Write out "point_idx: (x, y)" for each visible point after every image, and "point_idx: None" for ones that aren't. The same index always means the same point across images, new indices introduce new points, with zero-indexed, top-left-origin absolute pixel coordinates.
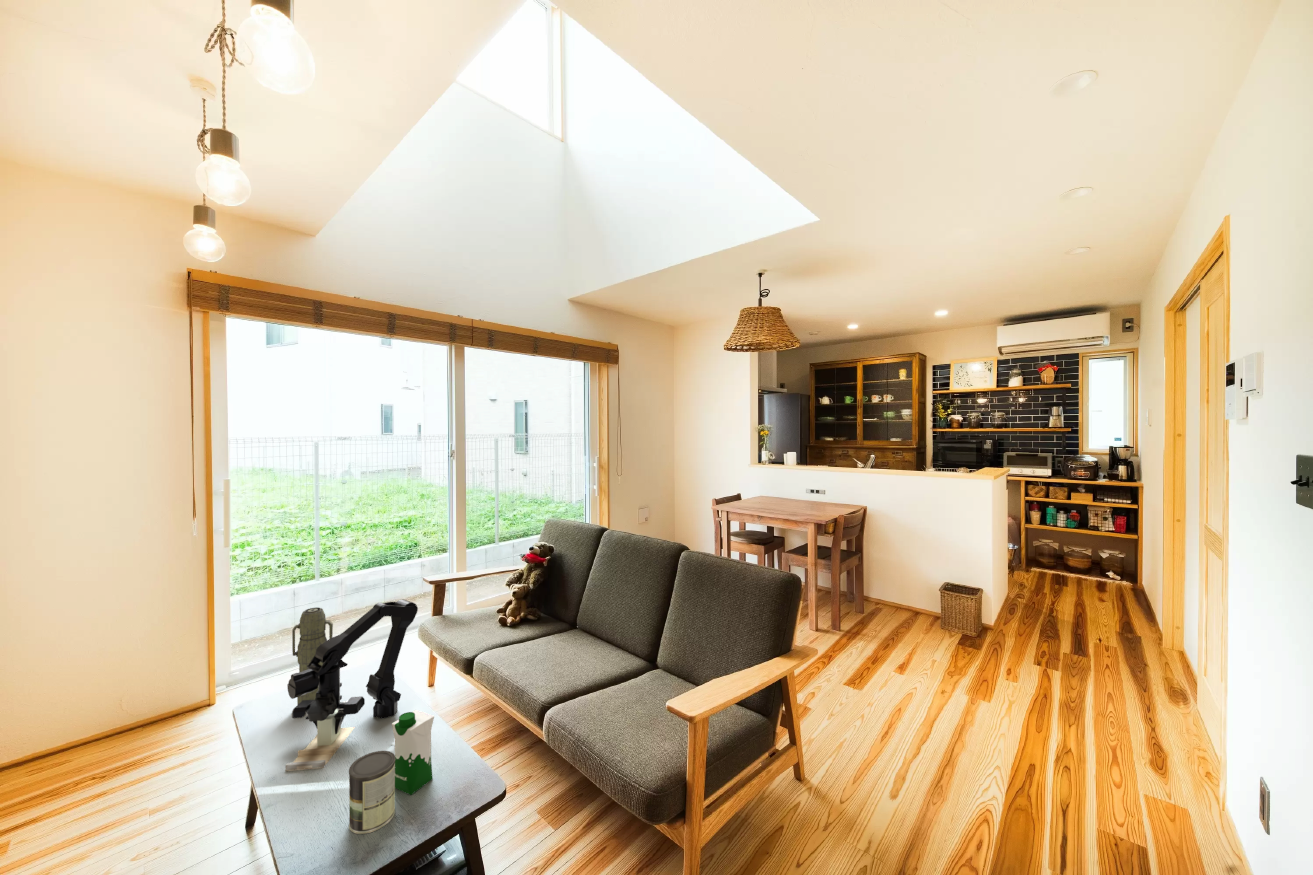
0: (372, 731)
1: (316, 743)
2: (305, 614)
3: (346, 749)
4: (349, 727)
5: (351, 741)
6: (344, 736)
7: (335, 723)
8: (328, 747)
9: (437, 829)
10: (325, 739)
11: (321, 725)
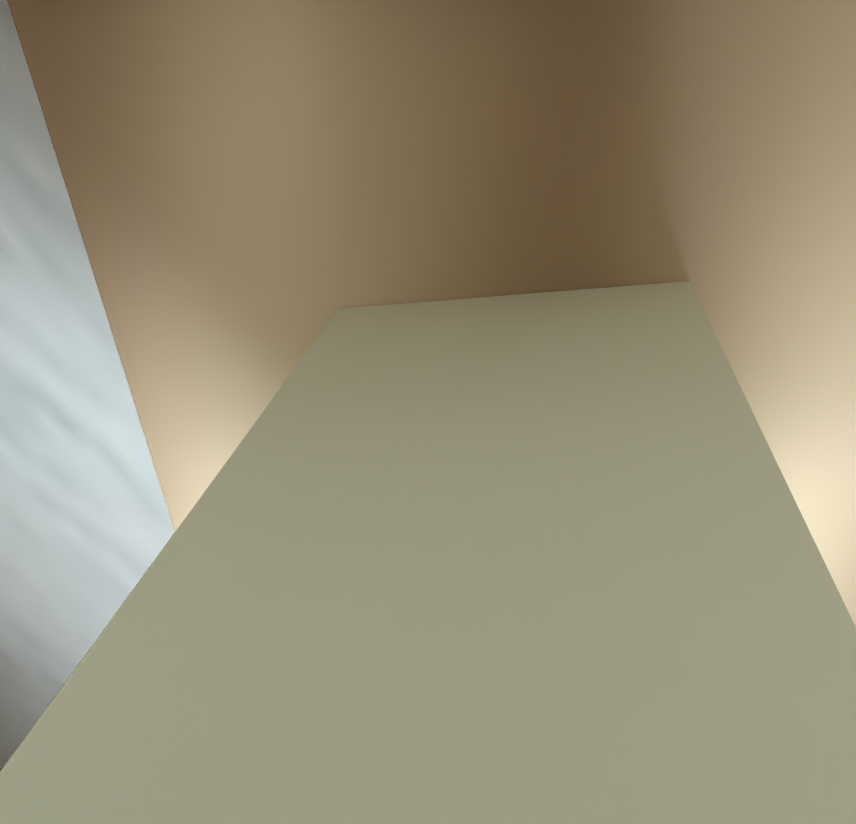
0: (15, 711)
1: (767, 386)
2: None
3: (52, 260)
4: None
5: (150, 501)
6: None
7: None
8: (342, 200)
9: None
10: (463, 355)
11: (610, 713)
